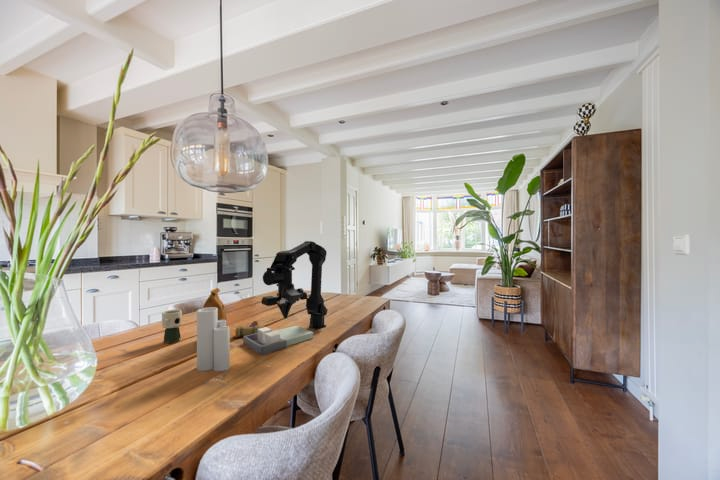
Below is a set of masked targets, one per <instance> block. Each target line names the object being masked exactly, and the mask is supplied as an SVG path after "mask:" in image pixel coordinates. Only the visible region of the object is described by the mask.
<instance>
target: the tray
mask: <svg viewBox="0 0 720 480" xmlns="http://www.w3.org/2000/svg"><path fill="white" fill-rule="evenodd" d="M242 337H243V338H242V340H243V342H242V343H243V345H245V346H246V347H248V348H250V349H251V350H253V351H254V352H255V353H257V354H259V355H261V356H264V355H266V354H267V355H268V354H271V353H273V352H278V351H280V350H283V349H286V348H287V347H288V346H287V340H283V341H280V342H276V343H273V344H269V345H266V346H265V343H261V342H259V341H258V333H255V334H251V335H247V336H242Z"/></svg>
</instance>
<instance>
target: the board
mask: <svg viewBox="0 0 720 480" xmlns="http://www.w3.org/2000/svg"><path fill="white" fill-rule="evenodd" d="M272 332H276V333H278V334H280V341H283V340H287V347H288V346H292V345H294V344H299V343H302V342H305V341H308V340H312V339H314V332H313V331H312V330H308V329H306V328H303V327H301V326H298V325H292V326H289V327H288V326H287V327H286V328H281V329H277V330H273V331H272Z"/></svg>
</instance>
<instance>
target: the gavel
mask: <svg viewBox="0 0 720 480" xmlns="http://www.w3.org/2000/svg"><path fill="white" fill-rule="evenodd" d="M260 328H261V326H260V325H258V321H256V320H254V321H253V322H252V323H251V324H250V325H249V326H244V327H243V326H237V327H236V329H235V337H236V338H241V337H243V336H247V335H251V334H255V333H258V329H260Z"/></svg>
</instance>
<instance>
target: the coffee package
mask: <svg viewBox="0 0 720 480" xmlns="http://www.w3.org/2000/svg"><path fill="white" fill-rule="evenodd" d="M219 292H221V289H220V288H218V287H216V288H214V289H213V290H210V295H209V296H208V298H207V299H206V300H205V302H204V305H203V306H202V308H209V307H215V308H217V312H218V320H226V324H227V312H226V307H225V304H224V302H223V301H222V300H221V299H220V297H219V294H218V293H219Z"/></svg>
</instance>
